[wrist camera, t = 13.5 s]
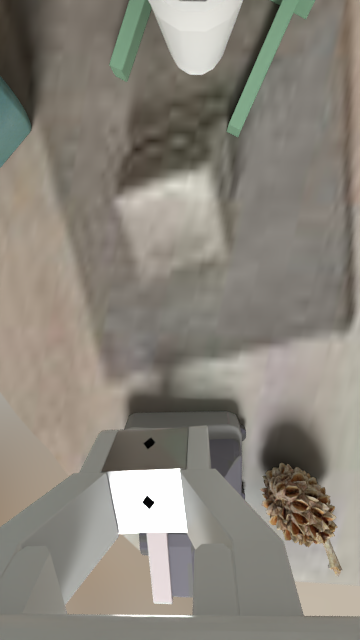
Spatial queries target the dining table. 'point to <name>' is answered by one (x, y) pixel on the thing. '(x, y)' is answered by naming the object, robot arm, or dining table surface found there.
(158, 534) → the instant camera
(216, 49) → the foam cup
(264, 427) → the dining table surface
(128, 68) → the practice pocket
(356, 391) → the dining table surface
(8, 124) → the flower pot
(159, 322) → the dining table surface
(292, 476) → the pine cone
